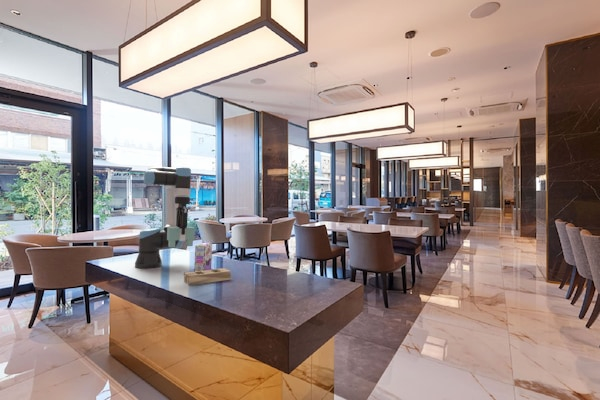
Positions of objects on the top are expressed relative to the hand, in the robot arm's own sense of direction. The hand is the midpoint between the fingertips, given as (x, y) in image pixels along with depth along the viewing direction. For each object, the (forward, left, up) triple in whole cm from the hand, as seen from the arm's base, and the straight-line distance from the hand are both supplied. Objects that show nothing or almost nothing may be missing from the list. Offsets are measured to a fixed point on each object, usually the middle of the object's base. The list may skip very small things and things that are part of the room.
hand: (180, 240), depth 158 cm
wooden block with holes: (+9, +12, -21) cm, 26 cm away
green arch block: (0, 0, -3) cm, 3 cm away
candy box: (-12, +17, -21) cm, 30 cm away
